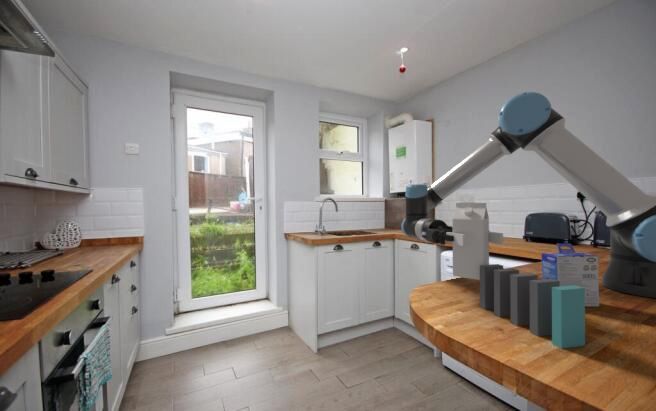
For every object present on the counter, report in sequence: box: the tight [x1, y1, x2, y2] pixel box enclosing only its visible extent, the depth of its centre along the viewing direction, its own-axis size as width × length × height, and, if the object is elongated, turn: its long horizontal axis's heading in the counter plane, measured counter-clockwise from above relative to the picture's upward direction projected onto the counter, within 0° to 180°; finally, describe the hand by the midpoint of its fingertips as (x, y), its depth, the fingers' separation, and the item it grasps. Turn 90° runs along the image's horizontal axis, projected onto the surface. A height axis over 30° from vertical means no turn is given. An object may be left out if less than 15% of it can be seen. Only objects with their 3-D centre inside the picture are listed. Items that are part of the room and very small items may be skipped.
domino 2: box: [493, 268, 520, 318], centre depth 60 cm, size 2×5×10 cm, turn 101°
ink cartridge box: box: [540, 242, 600, 307], centre depth 67 cm, size 10×6×14 cm, turn 89°
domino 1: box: [479, 263, 504, 310], centre depth 64 cm, size 2×5×10 cm, turn 101°
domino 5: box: [551, 285, 586, 349], centre depth 47 cm, size 2×5×10 cm, turn 101°
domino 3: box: [510, 272, 539, 327], centre depth 56 cm, size 2×5×10 cm, turn 101°
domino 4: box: [529, 279, 560, 337], centre depth 52 cm, size 2×5×10 cm, turn 101°
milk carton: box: [452, 202, 490, 281], centre depth 71 cm, size 7×7×19 cm
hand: (483, 239), depth 66 cm, fingers closed on milk carton, 10 cm apart
